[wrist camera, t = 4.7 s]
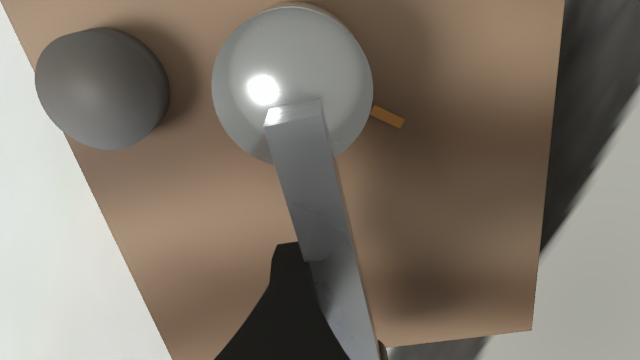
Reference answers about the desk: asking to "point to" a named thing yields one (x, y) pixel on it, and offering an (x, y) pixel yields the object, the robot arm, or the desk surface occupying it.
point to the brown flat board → (353, 163)
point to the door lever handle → (305, 142)
